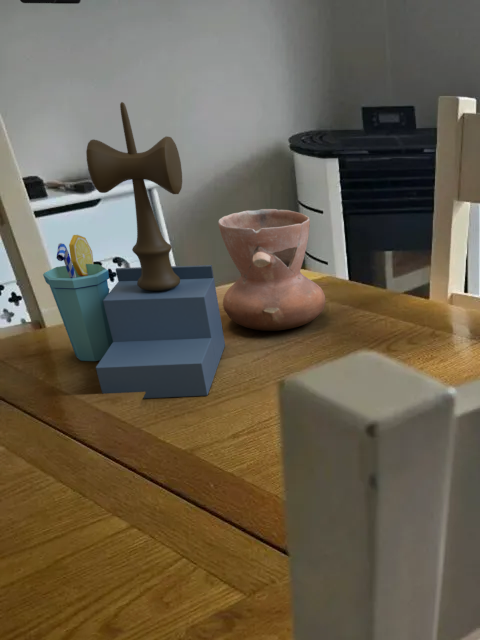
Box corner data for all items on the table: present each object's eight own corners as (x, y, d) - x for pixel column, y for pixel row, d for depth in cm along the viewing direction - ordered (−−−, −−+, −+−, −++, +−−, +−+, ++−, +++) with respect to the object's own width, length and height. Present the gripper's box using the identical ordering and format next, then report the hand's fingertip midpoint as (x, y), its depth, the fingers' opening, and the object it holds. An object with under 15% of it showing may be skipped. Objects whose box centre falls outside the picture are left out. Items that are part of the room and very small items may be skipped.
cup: (123, 372, 104) (93, 246, 96) (58, 378, 103) (21, 251, 94) (130, 337, 115) (103, 222, 107) (71, 342, 114) (39, 225, 105)
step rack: (104, 400, 97) (79, 310, 91) (135, 349, 112) (116, 267, 105) (207, 395, 98) (190, 305, 92) (225, 345, 113) (211, 264, 106)
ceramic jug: (324, 340, 114) (313, 230, 105) (218, 343, 113) (198, 232, 105) (330, 302, 128) (321, 202, 120) (236, 305, 128) (221, 204, 119)
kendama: (193, 294, 101) (158, 104, 89) (114, 295, 101) (69, 105, 89) (204, 281, 106) (172, 99, 94) (128, 282, 105) (87, 100, 94)
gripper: (-15, -219, 78) (37, 3, 88) (-88, -268, 65) (-17, 2, 75) (67, -216, 79) (109, 3, 89) (12, -264, 65) (70, 3, 75)
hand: (52, 3), depth 82 cm, fingers open, 9 cm apart
